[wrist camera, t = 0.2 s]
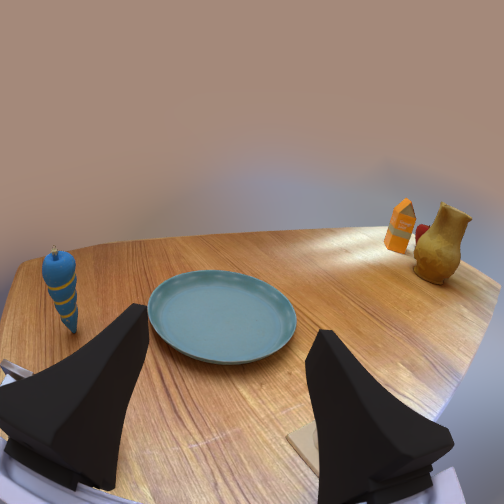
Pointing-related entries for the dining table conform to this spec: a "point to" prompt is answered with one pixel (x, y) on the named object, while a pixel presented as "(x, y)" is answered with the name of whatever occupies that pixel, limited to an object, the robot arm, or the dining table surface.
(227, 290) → the teal plate
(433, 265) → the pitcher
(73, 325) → the ornament
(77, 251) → the dining table surface
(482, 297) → the dining table surface
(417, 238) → the apple
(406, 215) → the orange juice
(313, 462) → the button block
